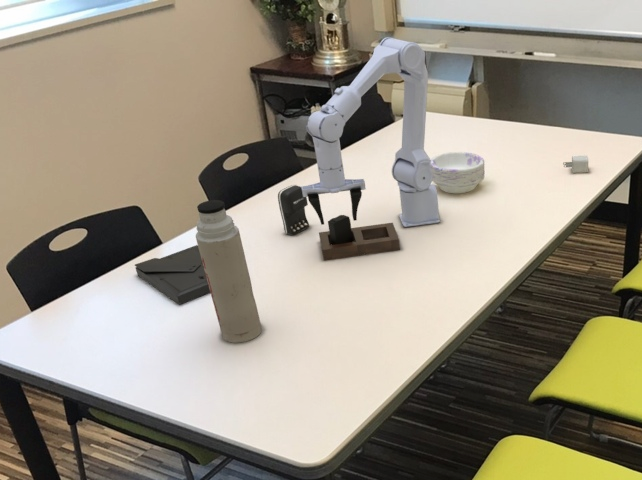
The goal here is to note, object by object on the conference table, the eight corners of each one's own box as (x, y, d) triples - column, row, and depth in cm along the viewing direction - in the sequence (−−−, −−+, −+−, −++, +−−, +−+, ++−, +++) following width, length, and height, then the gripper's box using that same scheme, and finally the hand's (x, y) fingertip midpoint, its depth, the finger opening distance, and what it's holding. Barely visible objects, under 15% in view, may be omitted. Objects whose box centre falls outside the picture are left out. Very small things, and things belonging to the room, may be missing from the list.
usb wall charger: (588, 173, 228) (588, 159, 226) (563, 174, 229) (564, 160, 226) (586, 168, 232) (587, 154, 229) (562, 169, 232) (563, 155, 230)
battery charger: (294, 237, 200) (286, 194, 194) (283, 234, 202) (275, 191, 196) (314, 227, 205) (306, 184, 198) (303, 224, 207) (295, 182, 200)
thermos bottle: (218, 344, 160) (183, 214, 144) (226, 323, 166) (192, 197, 150) (258, 341, 160) (228, 211, 144) (264, 320, 167) (235, 194, 151)
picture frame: (137, 275, 186) (179, 304, 174) (134, 264, 185) (176, 293, 172) (199, 252, 195) (243, 279, 183) (196, 242, 194) (240, 268, 181)
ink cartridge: (347, 243, 196) (343, 213, 192) (353, 246, 195) (349, 215, 190) (332, 250, 193) (327, 220, 189) (338, 253, 192) (333, 222, 187)
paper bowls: (495, 183, 225) (494, 155, 220) (465, 202, 215) (464, 173, 210) (451, 174, 232) (449, 147, 227) (420, 192, 222) (417, 164, 217)
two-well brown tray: (393, 232, 200) (392, 222, 199) (400, 249, 192) (399, 239, 191) (320, 242, 197) (318, 232, 196) (323, 260, 189) (321, 249, 187)
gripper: (299, 175, 178) (309, 231, 185) (363, 167, 180) (371, 223, 188) (297, 164, 183) (307, 219, 191) (360, 157, 186) (367, 212, 194)
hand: (338, 220), depth 190 cm, fingers open, 7 cm apart
